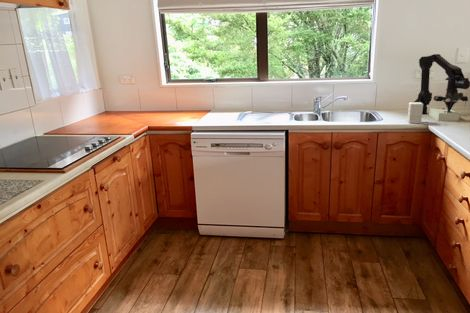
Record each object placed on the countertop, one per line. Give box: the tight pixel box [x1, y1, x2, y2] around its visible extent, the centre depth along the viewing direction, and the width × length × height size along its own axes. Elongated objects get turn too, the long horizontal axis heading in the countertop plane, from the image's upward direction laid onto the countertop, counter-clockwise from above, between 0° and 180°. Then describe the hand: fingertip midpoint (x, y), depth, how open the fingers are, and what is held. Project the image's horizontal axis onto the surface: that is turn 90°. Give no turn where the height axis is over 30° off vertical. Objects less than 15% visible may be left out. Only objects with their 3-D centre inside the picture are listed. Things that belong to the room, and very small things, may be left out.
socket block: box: [428, 107, 460, 122], centre depth 246 cm, size 12×20×5 cm, turn 169°
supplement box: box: [406, 101, 423, 124], centre depth 235 cm, size 7×7×13 cm
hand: (448, 111), depth 239 cm, fingers closed, pressing on steel peg
